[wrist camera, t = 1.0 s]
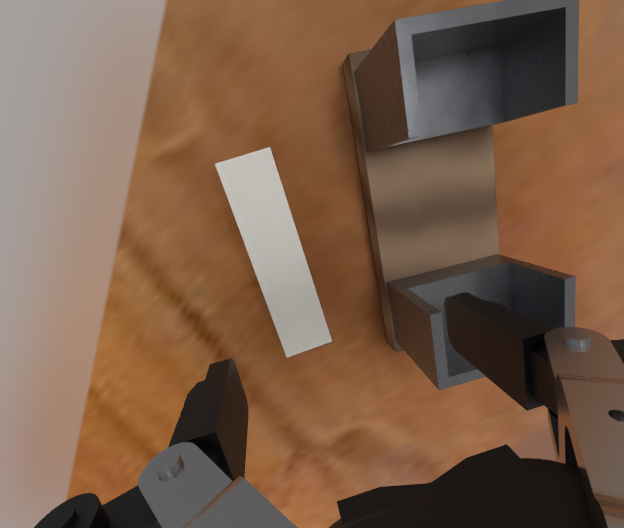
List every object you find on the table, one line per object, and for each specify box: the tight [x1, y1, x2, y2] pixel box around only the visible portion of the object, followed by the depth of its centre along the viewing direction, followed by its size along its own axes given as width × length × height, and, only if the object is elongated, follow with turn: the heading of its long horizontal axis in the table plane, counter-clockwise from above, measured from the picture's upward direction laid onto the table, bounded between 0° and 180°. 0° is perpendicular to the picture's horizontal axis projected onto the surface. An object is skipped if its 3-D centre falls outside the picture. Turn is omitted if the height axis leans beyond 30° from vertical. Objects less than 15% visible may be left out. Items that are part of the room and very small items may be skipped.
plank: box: [343, 50, 499, 352], centre depth 28 cm, size 25×11×2 cm, turn 12°
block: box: [215, 147, 332, 357], centre depth 26 cm, size 16×4×4 cm, turn 17°
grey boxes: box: [354, 0, 579, 390], centre depth 23 cm, size 23×11×8 cm, turn 12°
